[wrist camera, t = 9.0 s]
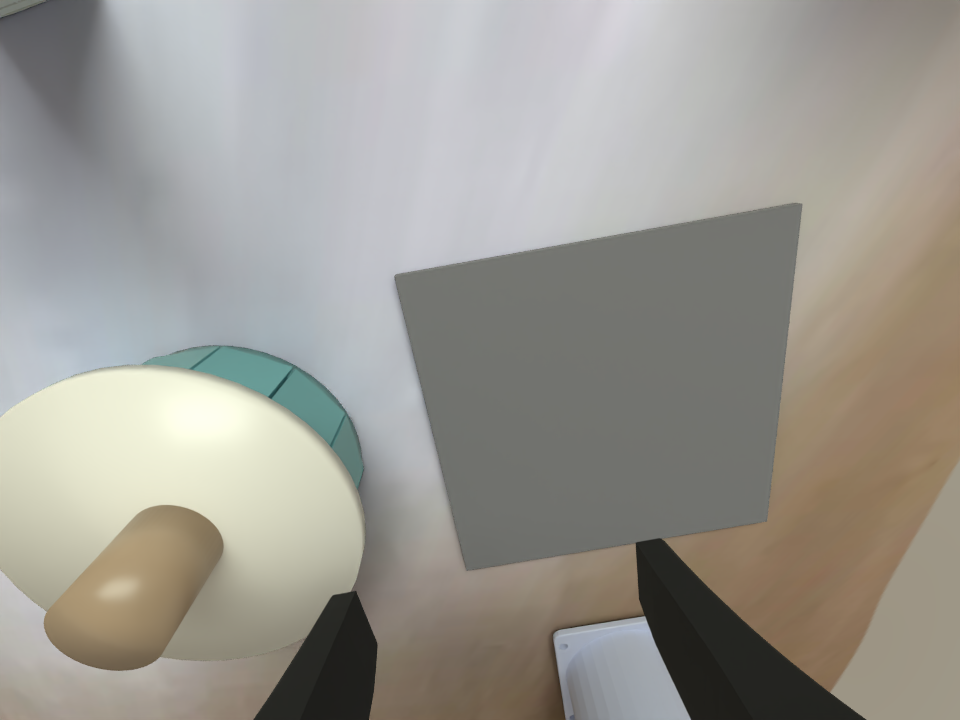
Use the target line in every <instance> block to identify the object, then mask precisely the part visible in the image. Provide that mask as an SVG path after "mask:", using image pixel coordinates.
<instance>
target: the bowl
mask: <svg viewBox="0 0 960 720" xmlns="http://www.w3.org/2000/svg"><path fill="white" fill-rule="evenodd" d="M142 365H161V366H170V367H179V368H186V369H190V370H195V371H199V372H204V373H208V374H212V375H215V376H218V377H221V378H224V379H227V380H230V381H233V382H236V383H239V384H241V385H243V386H246V387H248V388H250V389H252V390H254V391H257V392H259V393H261V394H263V395H265V396H267V397H268V398H270V399H272V400H273V401H275V402H277V403H279V404H280V405H282V406H284V407H285V408H287V409H288V410H290V411H291V412H292V413H294V414H295V415H296V416H298V417H299V418H300V419H302V420H303V421H304V422H306V423H307V424H308V425H309V426H310V427H311V428H312V429H314V430H315V431H316V432H317V433H318V434H319V435H320V436H321V437H322V438H323V439H324V440H325V441H326V442H327V443H328V444H329V446H330V447H331V448H332V449H333V451H334V452H335V453H336V454H337V455H338V457H339V458H340V459H341V461H342V462H343V464H344V466H345V467H346V469H347V470H348V472H349V474H350V475H351V477H352V479H353V482H354V484H355V486H356V488H357V490H358V486H359V483H360V480H361V477H362V473H363V470H364V469H363V468H364V466H363V463H362V456H361V447H360V443H359V439H358V435H357V433H356V430H355V428H354V425H353V423H352V421H351V419H350V418H349V416H348V414H347V413H346V411H345V409H344V408H343V407H342V405H341V404H340V403H339V401H338V400H337V399H336V398H335V397H334V396H333V395H332V394H331V393H330V392H329V390H328V389H327V388H326V387H325V386H323V385H322V384H321V383H320V382H318V381H317V380H316V379H315V378H313V377H312V376H311V375H309V374H308V373H306V372H305V371H303V370H301V369H300V368H298V367H297V366H295V365H293V364H291V363H289V362H287V361H285V360H283V359H281V358H278V357H275V356H272V355H269V354H267V353H264V352H260V351H256V350H252V349H248V348H242V347H234V346H202V347H193V348H189V349H185V350H181V351H177V352H174V353H172V354H169V355H166V356H161V357H155V358H152V359H150V360H148V361H146V362H145V363H143V364H142Z"/></svg>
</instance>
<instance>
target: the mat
mask: <svg viewBox="0 0 960 720" xmlns="http://www.w3.org/2000/svg"><path fill="white" fill-rule="evenodd" d="M801 212H802V204H799V203H793V204H787V205H782V206H776V207H770V208H765V209H759V210H754V211H748V212H743V213H737V214H731V215H726V216H720V217H715V218H709V219H703V220H698V221H692V222H687V223H681V224H675V225H670V226H664V227H659V228H653V229H647V230H642V231H636V232H631V233H625V234H619V235H614V236H608V237H603V238H597V239H592V240H586V241H580V242H575V243H569V244H564V245H558V246H552V247H547V248H541V249H536V250H530V251H524V252H519V253H513V254H508V255H502V256H496V257H491V258H485V259H480V260H474V261H468V262H463V263H457V264H452V265H446V266H441V267H435V268H429V269H424V270H418V271H413V272H407V273H401V274H396V275H395V276H394V277H395V281H396V285H397V289H398V294H399V298H400V302H401V306H402V310H403V314H404V318H405V322H406V326H407V330H408V334H409V338H410V342H411V346H412V350H413V354H414V358H415V363H416V367H417V371H418V375H419V379H420V383H421V387H422V391H423V395H424V399H425V403H426V407H427V411H428V415H429V419H430V423H431V428H432V432H433V436H434V440H435V444H436V448H437V452H438V456H439V460H440V464H441V468H442V472H443V476H444V480H445V484H446V488H447V492H448V497H449V501H450V505H451V509H452V513H453V517H454V521H455V525H456V529H457V533H458V537H459V541H460V545H461V549H462V553H463V557H464V562H465V566H466V570H467V571H468V570H474V569H480V568H486V567H492V566H498V565H504V564H510V563H516V562H522V561H528V560H535V559H541V558H547V557H553V556H559V555H565V554H571V553H577V552H583V551H589V550H595V549H602V548H608V547H614V546H620V545H626V544H632V543H636V542H640V541H646V540H652V539H657V538H661V539H662V538H669V537H675V536H681V535H687V534H693V533H699V532H705V531H711V530H717V529H723V528H729V527H736V526H742V525H748V524H754V523H760V522H766V521H767V516H768V507H769V498H770V490H771V481H772V472H773V463H774V454H775V445H776V436H777V427H778V418H779V409H780V400H781V391H782V382H783V373H784V364H785V355H786V346H787V337H788V328H789V319H790V310H791V301H792V292H793V283H794V274H795V265H796V256H797V247H798V238H799V230H800V221H801Z"/></svg>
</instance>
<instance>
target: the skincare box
mask: <svg viewBox="0 0 960 720" xmlns="http://www.w3.org/2000/svg"><path fill="white" fill-rule="evenodd" d="M45 1H48V0H0V18H1V17H4V16H7V15H11V14H13V13H16V12H19V11H21V10H25V9H27V8H29V7H33V6H35V5H37V4H40V3H43V2H45Z"/></svg>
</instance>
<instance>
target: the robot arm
mask: <svg viewBox="0 0 960 720" xmlns="http://www.w3.org/2000/svg"><path fill="white" fill-rule="evenodd" d="M636 555H637V572H638V589H639V600H640V603H641V606H642V609H643V612H644V614H645V616H643V617H636V618H630V619H624V620H618V621H611V622H605V623H599V624H593V625H587V626H580V627H574V628H568V629H562V630H558V631H556V632H555V633H554V634H553V641H554V647H555V654H556V660H557V666H558V673H559V679H560V686H561V692H562V699H563V705H564V712H565V718H566V720H866V719H865V718H863V717H862V716H861V715H859V714H858V713H856V712H855V711H854V710H852V709H851V708H850V707H848V706H847V705H846V704H844V703H843V702H842V701H840V700H839V699H838V698H836V697H835V696H834V695H832V694H831V693H830V692H828V691H827V690H826V689H824V688H823V687H822V686H821V685H819V684H818V683H817V682H815V681H814V680H813V679H812V678H810V677H809V676H808V675H807V674H805V673H804V672H803V671H801V670H800V669H799V668H798V667H797V666H795V665H794V664H793V663H792V662H790V661H789V660H788V659H787V658H786V657H784V656H783V655H782V654H781V653H780V652H778V651H777V650H776V649H775V648H774V647H773V646H771V645H770V644H769V643H768V642H767V641H766V640H765V639H763V638H762V637H761V636H760V635H759V634H758V633H756V632H755V631H754V630H753V629H752V628H751V627H750V626H749V625H748V624H746V623H745V622H744V621H743V620H742V619H741V618H740V617H739V616H738V615H737V614H736V613H735V612H733V611H732V610H731V609H730V608H729V607H728V606H727V605H726V604H725V603H724V602H723V601H722V600H721V599H720V598H719V597H718V596H717V595H716V594H714V593H713V592H712V591H711V590H710V589H709V588H708V587H707V586H706V585H705V584H704V583H703V582H702V581H701V580H700V579H699V578H698V576H697V575H696V574H695V573H694V572H693V571H692V570H691V569H690V568H689V567H688V566H687V565H686V564H685V563H684V562H683V561H682V560H681V559H680V558H679V557H678V556H677V554H676V553H675V552H674V551H673V550H672V549H671V548H670V547H669V546H668V544H667V543H666V542H665V541H664V540H662V539H661V538H657V539H652V540H646V541H640V542H636ZM376 659H377V641H376V639H375V636H374V634H373V632H372V629H371V627H370V624H369V622H368V619H367V617H366V614H365V612H364V610H363V607H362V605H361V602H360V600H359V597H358V595H357V593H356V591H353V592H347V593H341V594H336V595H332V597H331V598H330V599H329V601H328V603H327V604H326V606H325V608H324V609H323V611H322V613H321V614H320V616H319V618H318V619H317V621H316V623H315V624H314V626H313V628H312V629H311V631H310V633H309V634H308V636H307V638H306V639H305V641H304V643H303V644H302V646H301V648H300V649H299V651H298V652H297V654H296V656H295V657H294V659H293V660H292V662H291V664H290V665H289V667H288V668H287V670H286V671H285V673H284V675H283V676H282V678H281V679H280V681H279V682H278V684H277V686H276V687H275V689H274V690H273V692H272V693H271V695H270V696H269V698H268V699H267V701H266V702H265V704H264V705H263V706H262V708H261V709H260V711H259V712H258V714H257V715H256V717H255V718H254V720H369V715H370V710H371V704H372V698H373V693H374V684H375V672H376Z"/></svg>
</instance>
